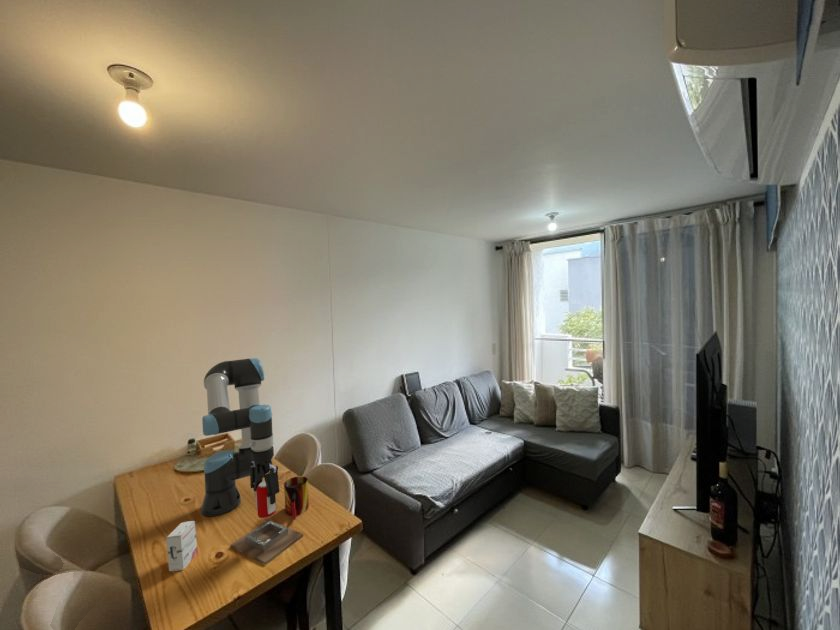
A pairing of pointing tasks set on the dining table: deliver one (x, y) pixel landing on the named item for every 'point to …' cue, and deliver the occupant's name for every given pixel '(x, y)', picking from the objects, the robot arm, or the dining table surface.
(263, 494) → the beverage can
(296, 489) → the mug
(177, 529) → the ink box
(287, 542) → the walnut plate
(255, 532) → the steel collar
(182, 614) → the dining table surface
